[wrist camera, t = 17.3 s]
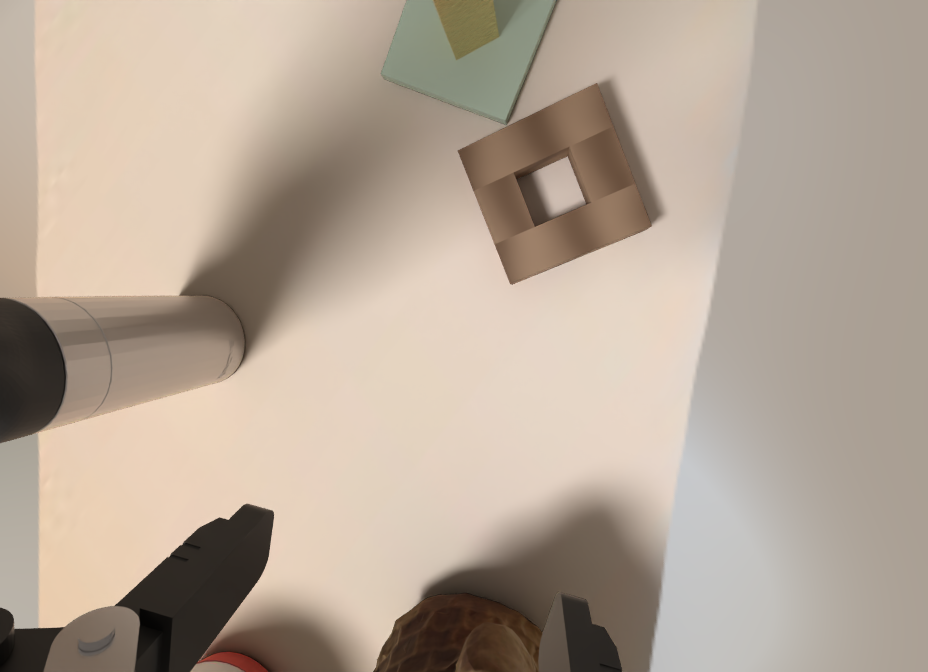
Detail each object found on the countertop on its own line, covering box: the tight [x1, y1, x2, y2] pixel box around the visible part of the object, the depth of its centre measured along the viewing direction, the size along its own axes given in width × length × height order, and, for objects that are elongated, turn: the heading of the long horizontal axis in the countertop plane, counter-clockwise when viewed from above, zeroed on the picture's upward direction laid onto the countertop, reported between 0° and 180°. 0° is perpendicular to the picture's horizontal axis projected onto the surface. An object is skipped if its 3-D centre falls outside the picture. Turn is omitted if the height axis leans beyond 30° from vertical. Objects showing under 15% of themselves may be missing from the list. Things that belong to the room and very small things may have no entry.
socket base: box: [458, 83, 652, 284], centre depth 37 cm, size 12×12×2 cm
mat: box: [381, 0, 557, 125], centre depth 38 cm, size 12×12×1 cm
